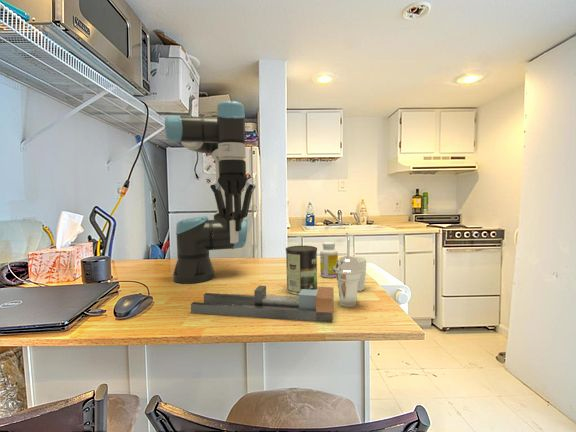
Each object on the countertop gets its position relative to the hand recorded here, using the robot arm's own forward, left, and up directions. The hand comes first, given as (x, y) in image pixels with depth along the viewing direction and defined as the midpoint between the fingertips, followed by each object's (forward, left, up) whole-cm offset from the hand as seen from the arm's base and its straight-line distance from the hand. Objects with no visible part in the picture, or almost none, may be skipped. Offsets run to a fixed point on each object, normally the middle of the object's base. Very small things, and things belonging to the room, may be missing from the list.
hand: (234, 242), depth 86 cm
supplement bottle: (+25, +33, -18) cm, 45 cm away
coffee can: (+17, +15, -18) cm, 29 cm away
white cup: (+34, +19, -18) cm, 43 cm away
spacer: (+22, -4, -18) cm, 29 cm away
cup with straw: (+32, +5, -18) cm, 37 cm away
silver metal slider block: (+14, -4, -18) cm, 23 cm away
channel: (+9, -4, -18) cm, 21 cm away
